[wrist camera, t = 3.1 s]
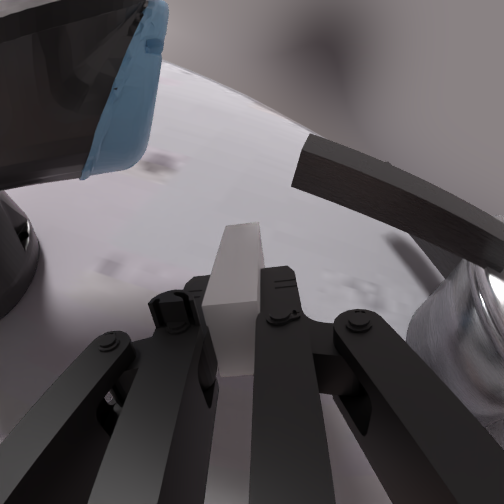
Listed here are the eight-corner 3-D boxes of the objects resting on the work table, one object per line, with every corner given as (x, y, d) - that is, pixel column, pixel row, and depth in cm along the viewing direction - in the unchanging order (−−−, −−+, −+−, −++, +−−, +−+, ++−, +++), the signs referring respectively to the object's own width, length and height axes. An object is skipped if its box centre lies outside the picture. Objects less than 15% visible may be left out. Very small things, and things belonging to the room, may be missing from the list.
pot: (300, 411, 22) (365, 357, 14) (350, 206, 39) (382, 133, 31) (515, 452, 19) (594, 415, 11) (501, 276, 36) (545, 224, 28)
